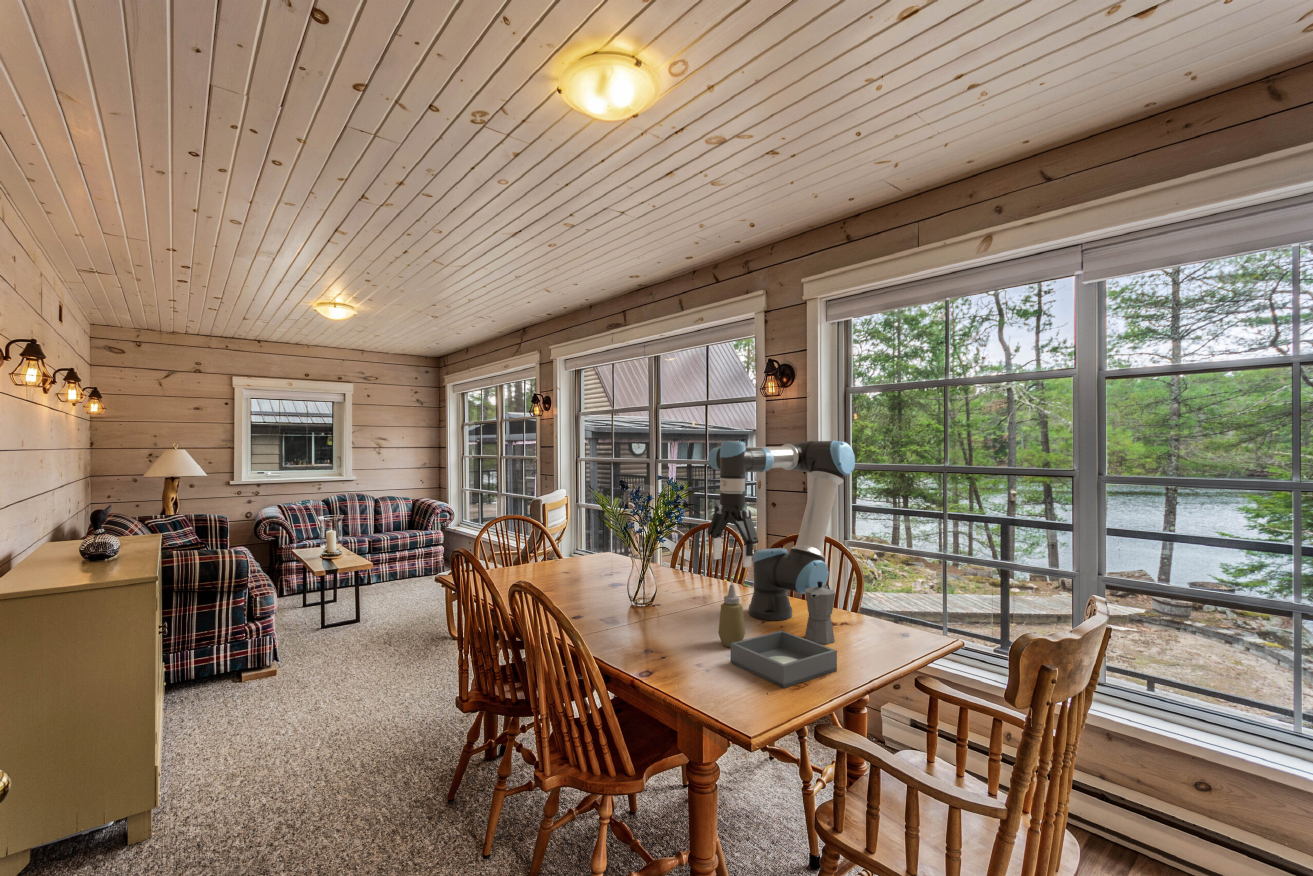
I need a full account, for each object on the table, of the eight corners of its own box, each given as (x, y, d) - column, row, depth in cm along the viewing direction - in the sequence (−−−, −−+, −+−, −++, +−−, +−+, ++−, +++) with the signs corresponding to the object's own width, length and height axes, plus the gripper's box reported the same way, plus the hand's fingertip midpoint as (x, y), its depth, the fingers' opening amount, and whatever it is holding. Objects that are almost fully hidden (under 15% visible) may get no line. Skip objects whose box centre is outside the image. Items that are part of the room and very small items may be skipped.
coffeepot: (828, 648, 175) (828, 587, 175) (797, 642, 180) (797, 583, 180) (843, 634, 188) (843, 577, 188) (814, 629, 193) (814, 574, 193)
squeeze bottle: (742, 651, 173) (742, 589, 173) (715, 647, 176) (715, 587, 176) (747, 642, 181) (747, 583, 181) (721, 639, 183) (721, 580, 184)
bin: (781, 649, 175) (782, 630, 175) (836, 671, 158) (836, 650, 158) (730, 663, 164) (730, 643, 164) (783, 688, 147) (783, 666, 147)
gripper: (697, 489, 187) (696, 557, 187) (751, 496, 166) (750, 571, 166) (715, 489, 191) (715, 554, 191) (770, 495, 170) (770, 568, 170)
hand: (731, 562), depth 178 cm, fingers open, 13 cm apart
